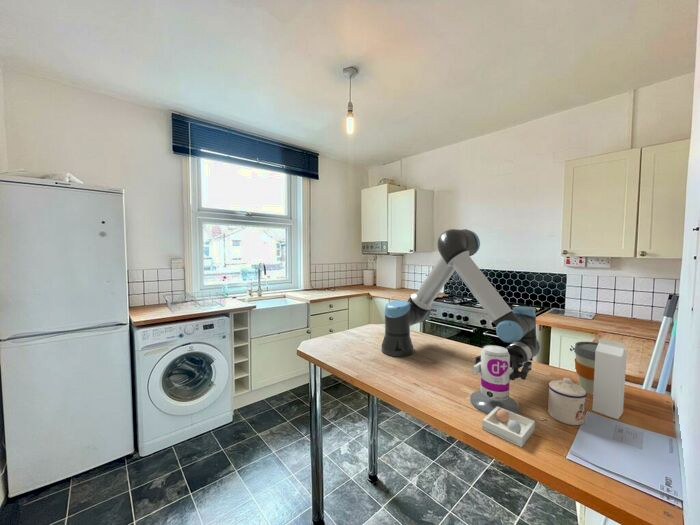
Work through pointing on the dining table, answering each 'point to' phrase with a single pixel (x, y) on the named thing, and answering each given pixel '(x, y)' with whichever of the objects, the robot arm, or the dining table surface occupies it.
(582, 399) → the teacup with lid
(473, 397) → the slate coaster
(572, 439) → the dining table surface
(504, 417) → the ball terracotta
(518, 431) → the ball grey
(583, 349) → the reusable coffee cup
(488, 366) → the supplement can
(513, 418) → the ball dish
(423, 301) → the robot arm
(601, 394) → the milk
